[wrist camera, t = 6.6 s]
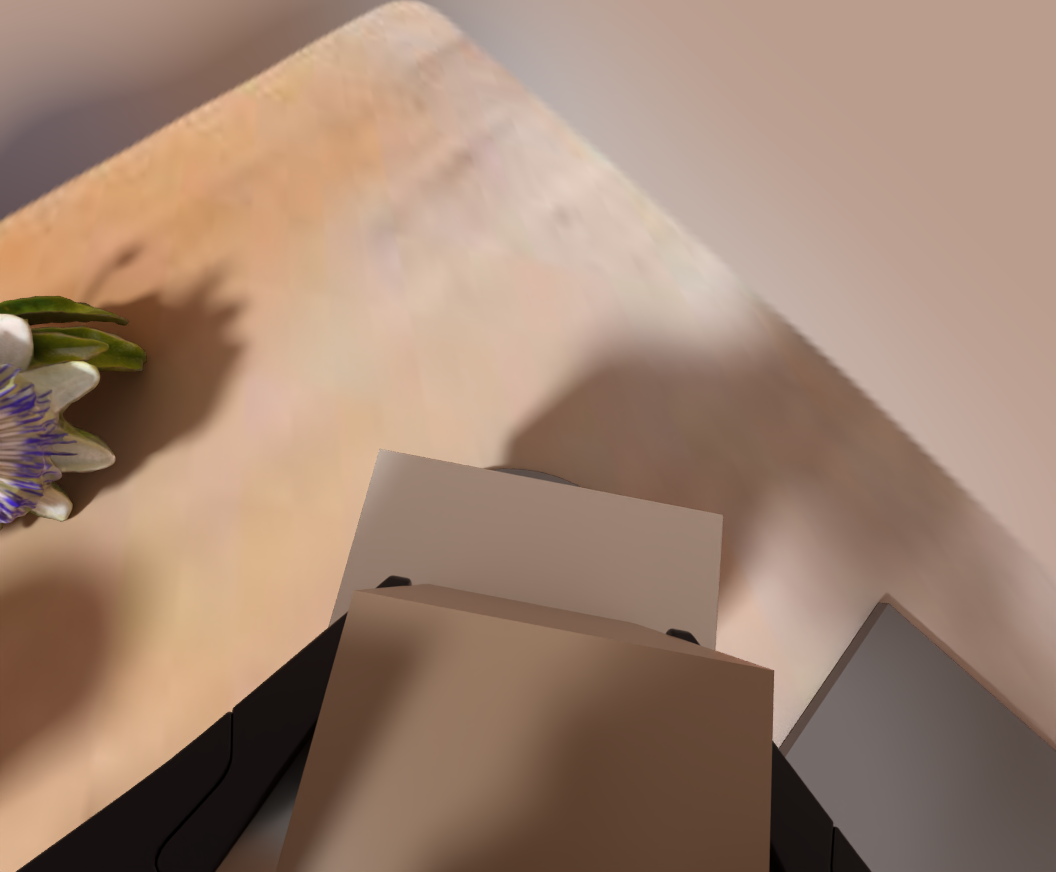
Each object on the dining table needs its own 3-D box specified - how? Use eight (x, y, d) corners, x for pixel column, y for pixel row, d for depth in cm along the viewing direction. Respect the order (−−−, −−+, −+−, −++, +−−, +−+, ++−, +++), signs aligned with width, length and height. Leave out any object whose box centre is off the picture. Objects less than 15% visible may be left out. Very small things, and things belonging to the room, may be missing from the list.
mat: (1002, 1192, 17) (1020, 1215, 16) (698, 867, 19) (704, 876, 18) (1151, 844, 20) (1170, 852, 20) (878, 602, 22) (888, 603, 22)
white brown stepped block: (622, 813, 15) (999, 1533, 4) (349, 762, 15) (-113, 1327, 4) (651, 534, 18) (923, 458, 6) (417, 490, 18) (273, 333, 6)
